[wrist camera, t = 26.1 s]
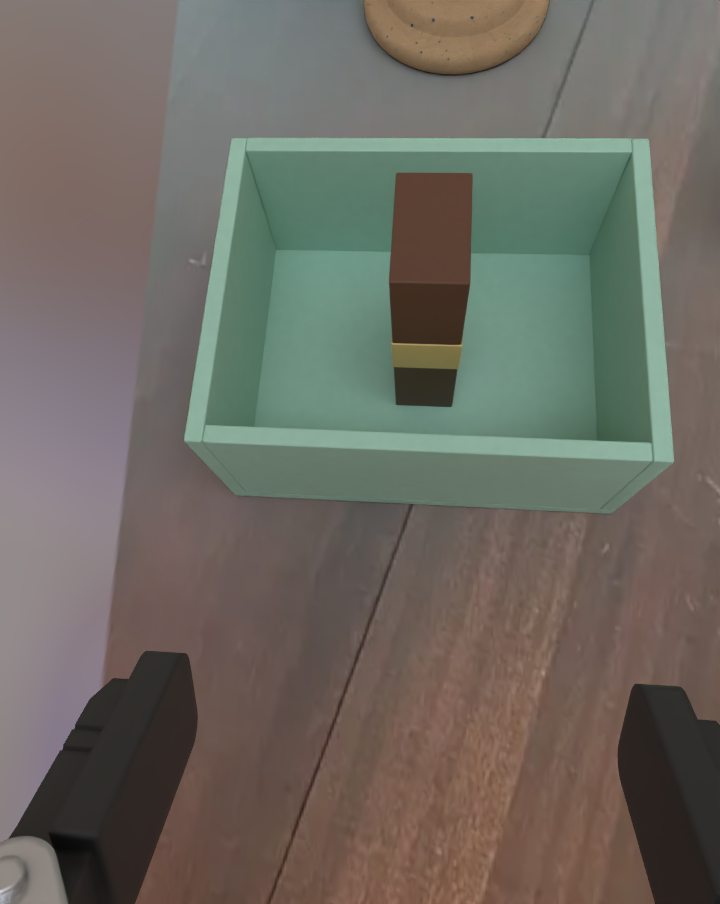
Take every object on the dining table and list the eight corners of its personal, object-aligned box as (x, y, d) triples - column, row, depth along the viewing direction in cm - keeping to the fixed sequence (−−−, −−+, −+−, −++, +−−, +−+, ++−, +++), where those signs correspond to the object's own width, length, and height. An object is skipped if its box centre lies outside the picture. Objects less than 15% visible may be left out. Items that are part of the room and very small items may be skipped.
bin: (234, 495, 36) (182, 441, 28) (267, 246, 41) (230, 137, 33) (611, 514, 35) (675, 462, 26) (599, 251, 40) (649, 137, 31)
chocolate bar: (394, 406, 37) (387, 283, 25) (399, 321, 38) (394, 170, 27) (453, 408, 36) (471, 285, 25) (455, 323, 38) (474, 171, 27)
